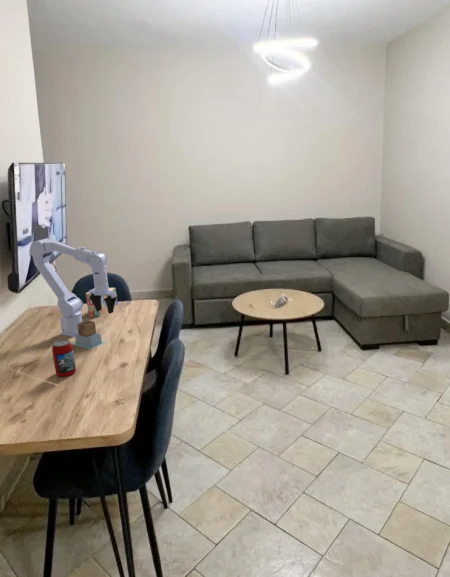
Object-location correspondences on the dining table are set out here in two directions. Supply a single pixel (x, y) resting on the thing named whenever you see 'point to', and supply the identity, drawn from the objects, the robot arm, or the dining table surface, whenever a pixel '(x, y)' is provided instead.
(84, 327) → the walnut cube
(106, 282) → the robot arm
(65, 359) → the beverage can
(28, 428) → the dining table surface
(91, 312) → the stack of blocks
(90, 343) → the base block
